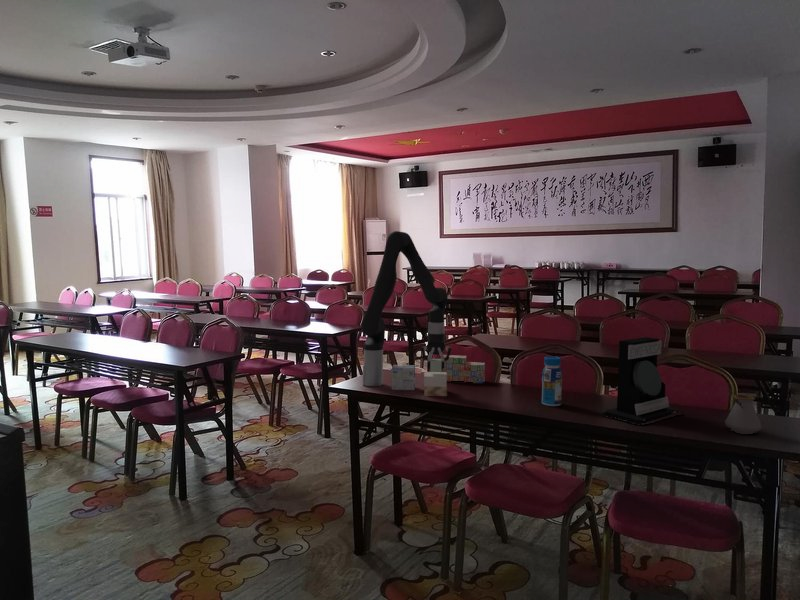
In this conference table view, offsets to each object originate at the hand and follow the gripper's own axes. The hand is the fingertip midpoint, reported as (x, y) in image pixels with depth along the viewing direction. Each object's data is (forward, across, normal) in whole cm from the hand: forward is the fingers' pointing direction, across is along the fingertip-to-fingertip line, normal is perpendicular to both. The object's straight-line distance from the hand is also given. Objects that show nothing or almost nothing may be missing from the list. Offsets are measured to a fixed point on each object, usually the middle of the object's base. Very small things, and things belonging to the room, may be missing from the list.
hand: (435, 369), depth 272 cm
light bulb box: (+11, -15, +8) cm, 20 cm away
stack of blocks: (+11, +14, +27) cm, 32 cm away
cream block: (+7, 0, 0) cm, 7 cm away
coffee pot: (+11, +108, -53) cm, 121 cm away
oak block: (+11, 0, 0) cm, 11 cm away
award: (+11, +82, -29) cm, 88 cm away
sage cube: (+1, 0, 0) cm, 1 cm away
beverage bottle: (+11, +49, -15) cm, 53 cm away
